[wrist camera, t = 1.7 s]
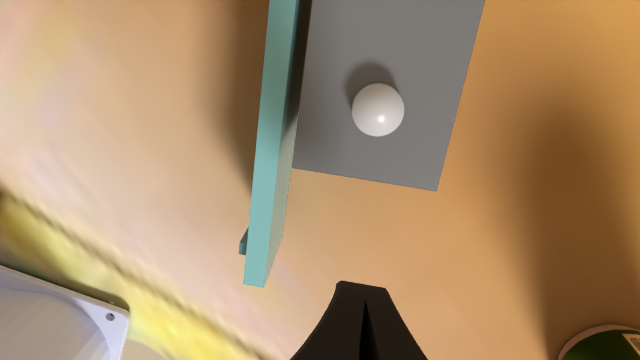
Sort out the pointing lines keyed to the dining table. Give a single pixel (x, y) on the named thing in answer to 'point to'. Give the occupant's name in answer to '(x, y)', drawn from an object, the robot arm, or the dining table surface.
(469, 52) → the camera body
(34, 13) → the dining table surface
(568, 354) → the beer can
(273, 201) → the side door
